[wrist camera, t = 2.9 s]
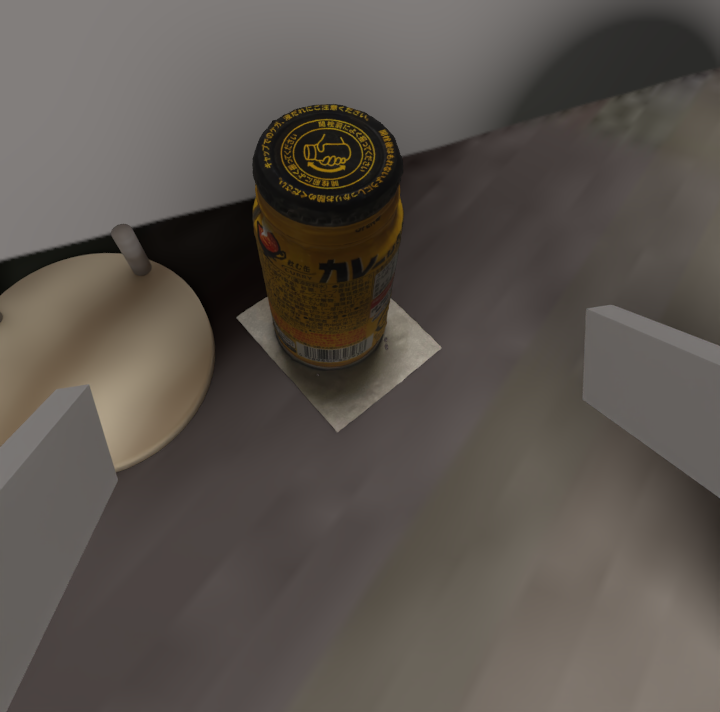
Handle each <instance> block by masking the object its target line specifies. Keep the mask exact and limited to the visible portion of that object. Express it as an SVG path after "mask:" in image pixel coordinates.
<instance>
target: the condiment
mask: <svg viewBox="0 0 720 712" xmlns="http://www.w3.org/2000/svg"><path fill="white" fill-rule="evenodd" d="M402 174H403V160H402V156H401V155H400V152H399V149H398V146H397V143H396V140H395V138H394V136H393V135H392V134H391V133H390V132H389V131H388V129H387V128H385V127H384V126H383V124H381V122H379V121H377V120H376V119H374V118H373V117H372V116H369V115H368V114H367V113H365V112H362V111H358V110H355V109H352V108H349V107H346V106H343V105H336V104H326V105H312V106H308V107H302V108H299V109H296V110H293V111H291V112H290V113H288V114H285V115H283V116H282V117H280V118H279V119H277V120H273V121H272V123H271V124H270V125H269V127H268V129H266V130H265V131H264V132H263V134H262V136H261V137H260V139H259V141H258V144H257V147H256V150H255V154H254V157H253V176H254V180H255V183H256V184H255V186H256V188H255V191H256V198H255V202H254V205H253V218H252V219H253V227H254V235H255V237H256V242H257V247H258V251H259V257H260V262H261V266H262V271H263V276H264V282H265V286H266V291H267V296H268V297H266V298H264V299H263V300H261V301H260V302H258V303H256V304H255V305H254V306H252V307H250V308H249V309H247V310H246V311H245V312H243V313H242V314H240V315H239V316H237V317H236V318H237V319H238V320H239V321H240V322H241V324H242V325H243V326H244V327H245V328H246V329H247V330H248V332H249V333H250V334H251V335H252V336H253V337H254V339H255V340H256V341H257V342H258V343H259V344H260V345H261V346H262V348H263V349H264V350H265V351H266V352H267V354H268V355H269V356H270V357H271V358H272V359H273V360H274V361H275V362H276V364H277V365H278V366H279V367H280V368H281V369H282V370H283V371H284V372H285V374H286V375H287V376H288V377H289V378H290V379H291V380H292V381H293V382H294V383H295V384H296V385H297V387H298V388H299V389H300V391H301V392H302V393H303V394H304V395H305V396H306V397H307V399H308V400H309V401H310V402H311V403H312V405H314V407H315V408H316V409H317V410H318V411H319V412H320V413H321V414H322V415H323V416H324V417H325V418H326V420H327V421H328V422H329V423H330V424H331V425H332V427H333V428H334V429H335V430H336V431H337V432H338V431H340V430H341V429H342V428H344V427H345V426H346V425H347V424H348V423H350V422H351V421H353V420H354V419H355V418H357V417H358V416H359V415H360V414H362V413H363V412H364V411H365V410H367V409H368V408H369V407H370V406H371V405H372V404H374V403H375V402H377V401H378V400H379V399H380V398H381V397H383V396H384V395H385V394H386V393H388V392H389V391H390V390H391V389H392V388H394V387H395V386H396V385H397V384H399V383H400V382H402V381H403V380H404V379H405V378H406V377H407V376H408V375H409V374H410V373H412V372H413V371H414V370H415V369H417V368H418V367H419V366H421V365H422V364H423V363H424V362H425V361H426V360H428V359H429V358H430V357H431V356H432V355H434V354H435V353H436V352H437V351H439V350H440V349H441V347H440V345H438V344H437V343H436V342H435V341H434V339H433V338H432V337H431V336H430V335H429V334H427V333H426V332H425V331H424V330H423V329H422V328H421V327H420V326H419V325H418V323H417V322H416V321H414V320H413V319H412V318H411V317H410V316H409V315H408V314H407V313H406V312H405V311H404V310H403V309H402V308H401V307H399V306H398V305H397V303H396V302H394V301H393V300H392V299H391V292H392V286H393V279H394V274H395V269H396V263H397V257H398V252H399V245H400V240H401V234H402V227H403V219H404V211H403V208H402V203H401V199H400V185H399V183H400V181H401V176H402ZM385 337H387V342H384V338H385ZM385 344H388V349H387V350H385ZM317 374H319V376H317Z"/></svg>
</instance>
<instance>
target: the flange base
mask: <svg viewBox="0 0 720 712" xmlns="http://www.w3.org/2000/svg"><path fill="white" fill-rule="evenodd" d="M111 236H112V238H113V239H114V241H115V243H116V244H117V246H118V248H119V249H120V251H121V252H122V254H117V253H99V254H88V255H82V256H77V257H72V258H69V259H65V260H61V261H58V262H56V263H53V264H51V265H48V266H45V267H43V268H41V269H39V270H37V271H35V272H33V273H31V274H29V275H28V276H26V277H25V278H23V279H21V280H20V281H18V282H17V283H15V284H14V285H13V286H11V287H10V288H9V289H8V290H6V291H5V292H4V293H3V294H2V295H1V296H0V447H1V446H2V445H3V444H4V443H5V442H6V441H7V440H8V439H9V438H10V437H11V436H12V435H13V433H14V432H15V431H16V430H17V429H18V428H19V427H20V426H21V425H22V424H23V423H24V422H25V421H26V420H27V419H28V418H29V417H30V416H31V415H32V414H33V413H34V412H35V411H36V410H37V409H38V408H39V407H40V406H41V405H42V404H43V403H44V402H45V400H46V399H47V398H48V397H49V396H50V395H51V394H52V393H53V392H54V391H55V390H56V389H61V388H68V387H74V386H81V385H87V384H89V385H90V389H91V392H92V395H93V399H94V402H95V405H96V409H97V412H98V415H99V419H100V422H101V425H102V429H103V432H104V435H105V439H106V442H107V445H108V448H109V452H110V455H111V458H112V462H113V465H114V468H115V472H116V473H117V472H119V471H122V470H125V469H128V468H130V467H132V466H134V465H136V464H138V463H140V462H142V461H144V460H146V459H147V458H149V457H151V456H152V455H154V454H155V453H157V452H158V451H160V450H161V449H162V448H164V447H165V446H166V445H167V444H169V443H170V442H171V441H172V440H173V439H174V438H175V437H176V436H177V435H178V434H179V433H180V432H181V431H182V430H183V429H184V428H185V427H186V426H187V424H188V423H189V422H190V421H191V419H192V418H193V417H194V416H195V414H196V412H197V411H198V409H199V407H200V406H201V404H202V402H203V400H204V398H205V396H206V394H207V391H208V389H209V386H210V383H211V379H212V376H213V372H214V365H215V342H214V335H213V331H212V328H211V325H210V322H209V319H208V317H207V315H206V312H205V310H204V308H203V306H202V304H201V302H200V300H199V298H198V297H197V295H196V294H195V293H194V291H193V290H192V288H191V287H190V286H189V285H188V284H187V283H186V282H185V281H184V280H183V279H182V278H181V277H179V276H178V275H177V274H175V273H174V272H173V271H171V270H169V269H168V268H166V267H164V266H162V265H161V264H158V263H156V262H153V261H151V260H149V259H148V257H147V256H146V254H145V252H144V250H143V248H142V246H141V244H140V243H139V241H138V239H137V237H136V235H135V233H134V231H133V230H132V228H131V227H130V226H129V225H127V224H120V225H117V226H116V227H114V228H113V229H112V231H111Z"/></svg>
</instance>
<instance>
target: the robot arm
mask: <svg viewBox="0 0 720 712" xmlns="http://www.w3.org/2000/svg"><path fill="white" fill-rule="evenodd" d="M582 399H583V400H584V401H585V402H587V403H588V404H589V405H591V406H592V407H594V408H595V409H596V410H598V411H599V412H601V413H602V414H603V415H605V416H606V417H608V418H609V419H610V420H612V421H613V422H615V423H616V424H617V425H619V426H620V427H621V428H623V429H624V430H626V431H627V432H628V433H630V434H631V435H633V436H634V437H635V438H637V439H638V440H640V441H641V442H642V443H644V444H645V445H647V446H648V447H649V448H651V449H652V450H653V451H655V452H656V453H658V454H659V455H660V456H662V457H663V458H665V459H666V460H667V461H669V462H670V463H672V464H673V465H674V466H676V467H677V468H679V469H680V470H681V471H683V472H684V473H685V474H687V475H688V476H690V477H691V478H692V479H694V480H695V481H697V482H698V483H699V484H701V485H702V486H704V487H705V488H706V489H708V490H709V491H711V492H712V493H713V494H715V495H716V496H717V497H719V498H720V346H719V345H716V344H714V343H711V342H708V341H706V340H703V339H701V338H698V337H695V336H693V335H690V334H688V333H685V332H682V331H680V330H677V329H674V328H672V327H669V326H667V325H664V324H661V323H659V322H656V321H654V320H651V319H648V318H646V317H643V316H641V315H638V314H635V313H633V312H630V311H627V310H625V309H622V308H620V307H617V306H614V305H606V306H599V307H593V308H586V326H585V349H584V373H583V397H582ZM117 481H118V478H117V475H116V472H115V468H114V465H113V462H112V458H111V455H110V452H109V448H108V445H107V442H106V439H105V435H104V432H103V429H102V425H101V422H100V419H99V415H98V412H97V409H96V405H95V402H94V399H93V395H92V392H91V389H90V385H89V384H87V385H81V386H74V387H68V388H61V389H56V390H55V391H54V392H53V393H52V394H51V395H50V396H49V397H48V398H47V399H46V400H45V402H44V403H43V404H42V405H41V406H40V407H39V408H38V409H37V410H36V411H35V412H34V413H33V414H32V415H31V416H30V417H29V418H28V419H27V420H26V421H25V422H24V423H23V424H22V425H21V426H20V427H19V428H18V429H17V430H16V431H15V432H14V433H13V435H12V436H11V437H10V438H9V439H8V440H7V441H6V442H5V443H4V444H3V445H2V446H1V447H0V712H6V711H7V709H8V707H9V705H10V703H11V701H12V699H13V697H14V695H15V693H16V691H17V689H18V687H19V685H20V682H21V680H22V678H23V676H24V674H25V672H26V670H27V668H28V666H29V664H30V662H31V660H32V658H33V656H34V653H35V651H36V649H37V647H38V645H39V643H40V641H41V639H42V637H43V635H44V633H45V631H46V629H47V626H48V624H49V622H50V620H51V618H52V616H53V614H54V612H55V610H56V608H57V606H58V604H59V602H60V600H61V597H62V595H63V593H64V591H65V589H66V587H67V585H68V583H69V581H70V579H71V577H72V575H73V573H74V571H75V568H76V566H77V564H78V562H79V560H80V558H81V556H82V554H83V552H84V550H85V548H86V546H87V544H88V542H89V539H90V537H91V535H92V533H93V531H94V529H95V527H96V525H97V523H98V521H99V519H100V517H101V515H102V513H103V510H104V508H105V506H106V504H107V502H108V500H109V498H110V496H111V494H112V492H113V490H114V488H115V486H116V484H117Z"/></svg>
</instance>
